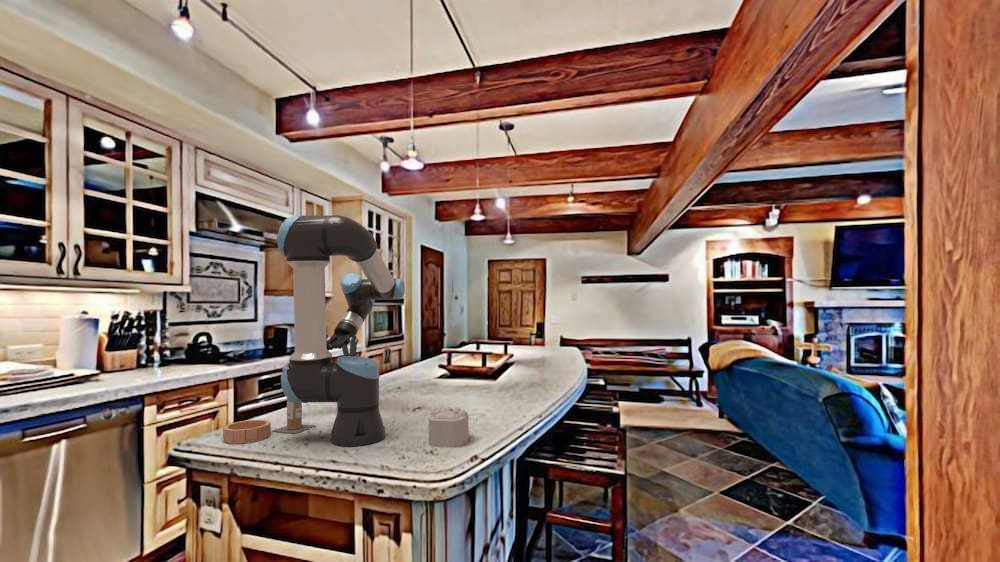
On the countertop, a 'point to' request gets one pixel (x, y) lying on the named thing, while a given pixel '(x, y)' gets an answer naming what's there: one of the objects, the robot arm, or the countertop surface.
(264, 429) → the terracotta bowl
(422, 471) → the countertop surface
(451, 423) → the lumpy-topped squat cylinder
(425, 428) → the countertop surface
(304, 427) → the rubber mat
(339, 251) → the robot arm
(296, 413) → the sprinkles bottle
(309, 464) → the countertop surface
